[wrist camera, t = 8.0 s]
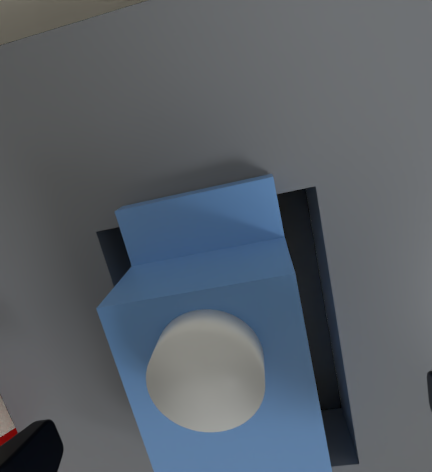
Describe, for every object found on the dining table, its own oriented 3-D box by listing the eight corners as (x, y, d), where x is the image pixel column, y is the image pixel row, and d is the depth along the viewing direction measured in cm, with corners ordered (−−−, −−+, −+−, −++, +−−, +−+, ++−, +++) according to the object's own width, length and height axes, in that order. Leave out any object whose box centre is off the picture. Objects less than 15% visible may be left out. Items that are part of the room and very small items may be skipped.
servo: (316, 417, 14) (363, 630, 8) (216, 429, 15) (192, 635, 9) (267, 162, 12) (284, 204, 6) (148, 189, 12) (49, 252, 6)
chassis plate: (488, 496, 14) (533, 567, 12) (111, 525, 17) (89, 588, 15) (466, -59, 9) (535, -118, 7) (-65, 95, 12) (-140, 87, 10)
